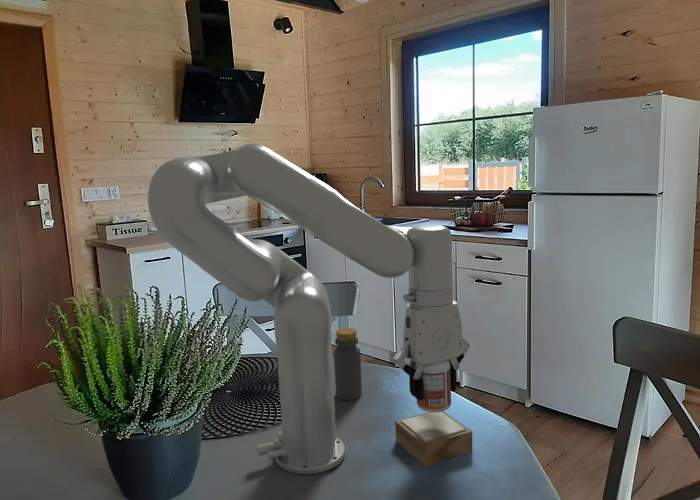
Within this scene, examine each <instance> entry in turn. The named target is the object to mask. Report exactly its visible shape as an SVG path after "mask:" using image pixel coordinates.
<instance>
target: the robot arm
mask: <svg viewBox="0 0 700 500" xmlns="http://www.w3.org/2000/svg"><path fill="white" fill-rule="evenodd" d="M147 192H148V193H147V206H148V211H149V216H150V218H151V220H152V223H153V225H154V227H155V229H156V230H157V231H158V233H159V234H160V236H161V237H162V238H163V239H164V240H165V241H166V242H167V243H168V244H169V245H171V246H172V247H173V248H174V249H175V250H177V251H178V252H180V254H182V255H183V256H184V257H185V258H188V259H189V260H190V261H191V262H192V263H194V264H195V265H197V266H198V267H199V268H200V269H201V270H202V271H204V272H205V273H207V274H208V275H209V276H210V277H212V278H213V279H215V280H216V281H218V282H219V283H220V284H221V285H223V286H224V287H225V288H226V289H228V290H229V291H230V292H232V293H233V294H234V295H235V296H237V297H238V298H240V299H242V300H243V301H244V300H245V301H247V302H248V301H249V302H259V301H262V300H263V301H265V303H267V304H269V305H270V306H272V307H273V308H274V309H273V310H274V312H273V328H274V337H275V338H274V339H275V344H276V346H275V347H276V356H277V359H276V360H277V372H278V382H279V384H278V385H279V386H278V387H279V399H280V412H281V413H280V415H281V431H278V432H277V437H276V438H273V440H272V441H270V442H263V443H260V444H256V454H257V456H258V457H262V456H265V455H267V459H268V461H269V460H270V461H271V460H274V459H275V462H276V464H277V466H278V467H280V468H281V469H282V470H285V471H287V472H289V473H293V474H297V475H312V474H314V475H315V474H319V473H320V474H321V473H324V472H326V471H329V470H331V469H334V468H335V467H336V466H338V465H340V463H341V462H343V459H345V456H346V447H345V446H346V445H345V444H344V442H343V441H342V440H341V438H338V437H337V433H336V431H337V430H336V411H335V410H336V408H335V390H334V385H335V384H334V372H333V351H332V350H333V349H332V347H333V346H332V312H331V305H330V304H331V303H330V300H329V294H328V290H327V289H326V286H325V285H324V284H323V281H321V280H320V279H319V278H318V277H317V276H315V275H314V274H313V273H311V272H310V271H309V270H308V269H306V268H305V267H304V266H302V265H301V264H299V262H297V261H296V260H294V259H293V258H292V257H291V256H290V255H288V254H287V253H285V252H284V251H283V250H282V249H280V248H278V247H277V246H276V245H274V244H273V243H271V242H268V241H267V240H263V239H258V238H257V239H254V238H253V239H248V238H247V237H245V236H244V235H243V234H241V233H240V232H239V231H237V230H236V229H234V228H233V227H232V226H231V225H230V224H229V223H227V222H226V221H224V220H223V219H222V218H220V217H219V216H216V215H215V214H213V213H212V212H211V211H210V210H209V208H208V207H207V206H206V205H207V204H211V203H212V204H213V203H217V202H222V201H227V200H231V199H232V200H233V199H237V198H241V197H248V198H250V199H251V200H252V201H255V202H256V203H258V204H260V205H262V207H263V206H264V207H266V208H267V209H268V210H270V211H272V212H273V213H275V214H277V215H279V216H281V217H282V218H283V219H285V220H287V221H288V222H290V223H292V224H294V225H295V226H297V227H299V228H301V229H302V230H304V231H305V232H306V233H307V234H309V235H311V236H312V237H314V238H316V239H318V240H319V241H322V243H324V244H326V245H328V246H329V247H330V248H333V249H334V250H335V251H337V252H339V253H340V254H342V255H343V256H345V257H346V258H348V259H349V260H351V261H353V262H354V263H356V264H358V265H360V266H361V267H363V268H365V269H367V270H368V271H370V272H371V273H373V274H375V275H377V276H379V277H382V278H386V279H394V278H395V279H396V278H398V277H401V276H403V275H404V274H405V273H407V272H408V286H409V287H408V292H407V293H406V294H403V301H404V302H409V304H407V305H406V307H405V308H406V309H405V315H404V322H403V332H402V333H403V337H402V338H403V341H402V342H403V343H402V344H403V345H401V347H400V349H399V350H398V351H397V352H396V354H395V355H394V356H393V359H392V362H393V363H394V364H395V365H396V366H397V367H398V368H399V369H401V370H402V371H403V372H404V373H406V375H408V377H409V393H410V395H411V396H412V397H414V398H415V399H416V400H417V399H418V400H423V379H422V378H420V375H421V372H422V369H423V366H424V365H428V364H432V363H437V362H441V361H445V360H448V361H449V362H450V378H451V393H452V392H456V391H457V370H459V368H460V363H461V362H462V361H463V359H464V358H465V354H466V353H467V352H468V351H469V349H470V348H471V345H470V343H469V342H468V341H467V340H466V339H465V338H464V337H463V336H464V335H463V326H462V319H461V318H462V317H461V314H460V310H459V305H458V302H457V301H456V300H454V293H453V291H454V290H453V287H454V286H453V283H454V282H453V238H452V236H453V235H452V232H451V230H450V228H448V227H447V226H444V225H439V224H425V225H418V226H417V225H416V226H413V227H411V226H410V227H408V226H407V227H406V226H395V225H393V226H392V225H386V224H384V223H382V222H381V221H379V220H378V219H376V218H374V217H372V216H371V215H369V214H368V213H366V212H365V211H363V210H361V209H360V208H359V207H357V206H356V205H354V204H353V203H352V202H350V201H349V200H347V199H346V198H345V197H344V196H343V195H341V194H340V193H339V192H338V191H337V190H336V189H334V188H333V187H331V186H330V185H329V184H328V183H326V182H324V181H322V180H321V179H319V178H317V177H315V176H314V175H312V174H310V173H309V172H307V171H305V170H304V169H302V168H301V167H299V166H298V165H295V164H294V163H292V162H291V161H289V160H287V159H285V158H284V157H283V156H281V155H280V154H278V153H276V152H274V151H273V150H272V149H271V148H268V147H267V146H265V145H262V144H258V143H246V144H244V145H242V146H240V147H238V148H237V149H233V150H228V151H224V152H218V153H212V154H208V155H202V156H197V157H178V158H173V159H171V160H168V161H165V162H164V163H163V164H161V165H160V166H159V167H158V168H157V169H156V170H155V171H154V173H153V175H152V177H151V179H150V183H149V186H148V191H147ZM406 359H409V361H408V363H407V362H406Z"/></svg>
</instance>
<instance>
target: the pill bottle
mask: <svg viewBox="0 0 700 500" xmlns="http://www.w3.org/2000/svg"><path fill="white" fill-rule="evenodd" d="M420 378H422V379H423V400H418V399H417V398H416V404H417V407H418V408H419V410H422V411H425V412H426V413H428V412H443V411H444V412H446V411H447V410H449V408H450V407H452V406H451V405H452V391H451V378H450V362H449V361H448V360H445V361H441V362H437V363H432V364H428V365H424V366H423V369H422V372H421V375H420Z"/></svg>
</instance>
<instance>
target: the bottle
mask: <svg viewBox="0 0 700 500" xmlns="http://www.w3.org/2000/svg"><path fill="white" fill-rule="evenodd" d="M335 334H336V337H335V340H334V343H335V345H337V347H336V348H334V350H333V354H334V355H333V357H334V379H335V380H334V381H335V382H334V383H335V394H336V395H335V396H336V398H337V399H340V400H341V401H352V400H356V399H359V398H361V397H362V395H363V389H362V363H361V361H362V360H361V359H362V358H361V349H360V348H359V347H358V346H357V345H358V344H359V338H358V337H357V334H358V330H357V329H355V328H352V327H343V328H339V329H336V330H335Z"/></svg>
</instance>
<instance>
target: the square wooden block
mask: <svg viewBox="0 0 700 500" xmlns="http://www.w3.org/2000/svg"><path fill="white" fill-rule="evenodd" d="M394 428H395V442H396V443H397V444H399V446H401V447H402V448H403V449H404V450H405V451H406V452H408V453H409V454H410V455H411V456H412V457H413V458H414V459H415V460H417V461H418V463H420V464H421V465H422V466H423V467H424V468H426V467H429V466H432V465H436V464H439V463H442V462H444V461H449V460H451V459H455V458H458V457H461V456H465V455H467V454H471V453H473V430H471V429H470V428H468V427H467V426H465V425H464V424H463V423H461V422H460V421H458V419H455V418H454V417H453V416H451V415H450V414H448V413H447V412H446V411H443V412H425V413H421V414H417V415H414V416H409V417H406V418H403V419H402V418H401V419H398V420H395V427H394Z"/></svg>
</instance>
